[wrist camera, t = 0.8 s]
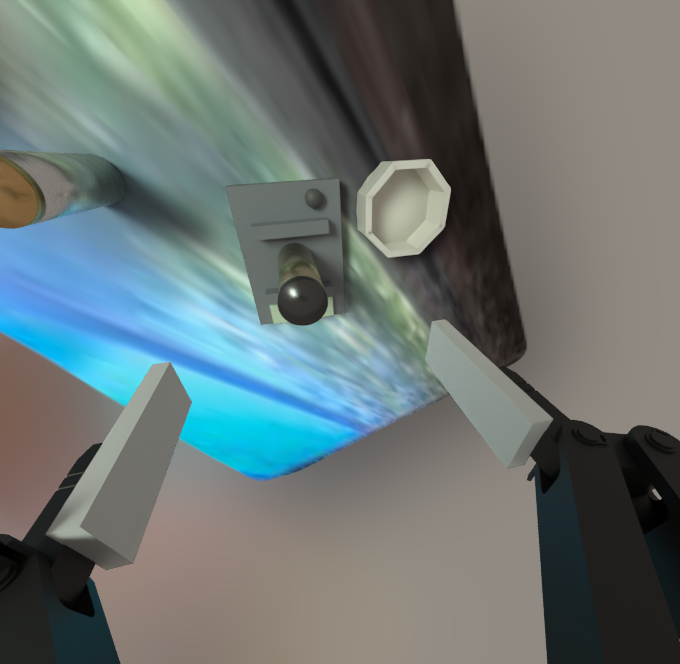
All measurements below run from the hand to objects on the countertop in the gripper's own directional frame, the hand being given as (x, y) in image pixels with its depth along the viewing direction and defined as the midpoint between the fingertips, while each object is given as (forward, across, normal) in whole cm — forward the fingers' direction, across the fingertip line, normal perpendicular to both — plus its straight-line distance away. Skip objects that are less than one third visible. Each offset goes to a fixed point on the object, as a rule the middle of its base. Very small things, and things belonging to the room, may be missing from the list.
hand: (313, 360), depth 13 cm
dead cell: (+16, 0, 0) cm, 16 cm away
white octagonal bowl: (+18, +11, +4) cm, 21 cm away
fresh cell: (+18, -15, +8) cm, 25 cm away
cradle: (+18, 0, 0) cm, 18 cm away
